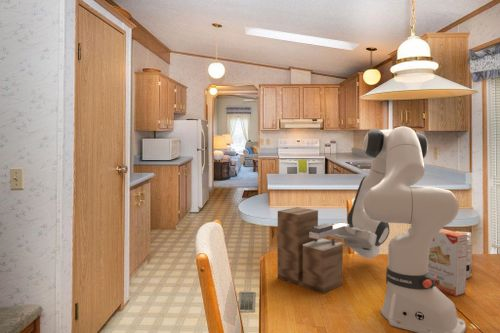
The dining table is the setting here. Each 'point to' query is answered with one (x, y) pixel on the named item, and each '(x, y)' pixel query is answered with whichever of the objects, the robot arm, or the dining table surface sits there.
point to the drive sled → (326, 230)
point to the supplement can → (468, 258)
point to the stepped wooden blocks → (307, 252)
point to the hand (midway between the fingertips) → (339, 226)
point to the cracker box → (449, 261)
